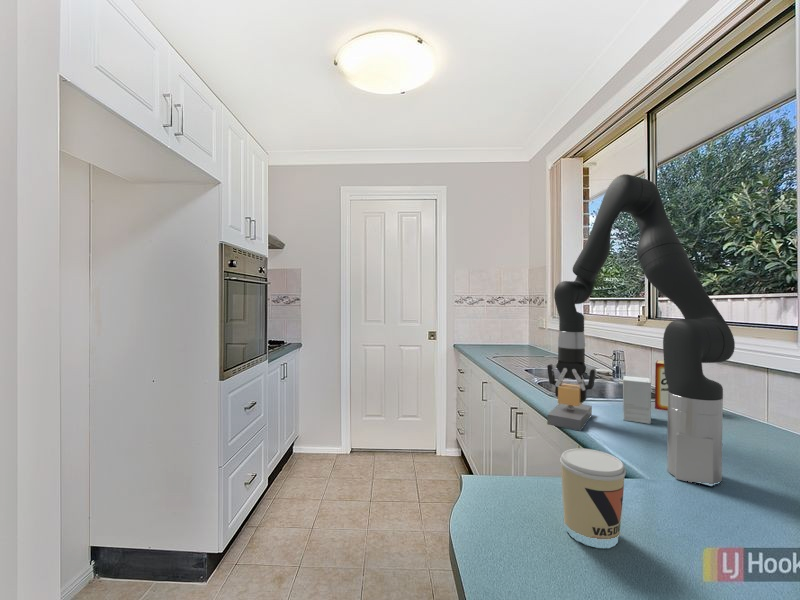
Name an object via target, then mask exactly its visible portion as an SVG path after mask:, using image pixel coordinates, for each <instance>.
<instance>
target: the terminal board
mask: <svg viewBox="0 0 800 600" xmlns="http://www.w3.org/2000/svg"><path fill="white" fill-rule="evenodd" d="M592 415H593V405H590V404H585V403H584V404H583V403H582V404H581V405H580V406H572V405H566V404H560V403H558V404H557V405H556V406H554V408H552V409H551V410H550V411H549V412H548V413H547V415H546V416H547V418H546V419H547V422H546V424H547V425H548V426H553V427H558V428H559V427H560V428H563V429H564V428H565V429H569V430H574V431H579V432H580V430H581V431H582V429H583V428H584V426H585V425H586V424H587V423H588V421H589V419H590V418H591V417H592ZM590 416H591V417H590ZM587 420H588V421H587ZM585 423H586V424H585ZM584 424H585V425H584ZM582 427H583V428H582ZM581 428H582V429H581Z"/></svg>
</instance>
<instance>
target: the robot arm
mask: <svg viewBox="0 0 800 600" xmlns="http://www.w3.org/2000/svg"><path fill="white" fill-rule="evenodd" d="M621 212H622V213H627V214H629V215H631V216H632V217H633V219H634V220H635V223H636V224H637V227H638V229H639V231H640V232H639V233H640V236H639V240H638V244H637V249H636V256H637V259H638V262H639V265H640V267H641V269H642V271H643V274H644V277H646V279H647V281H648V282H649V283H650V284H651V285H652V286H653V287H654V288H655V289H656V290H658V291H659V292H660V293H661V294H662V295H663V296H665V297H666V298H667V299H668V300H670V301H671V302H672V303H673V304H674V305H675V306H676V307H677V308H678V310H679V311H680V312H681V314H682V317H683V318H684V319H675V320H672V321H671V322H669V323H668V325H667V326H666V328H665V329H664V333H663V337H662V351H663V353H662V355H663V361H664V373H665V378H666V381H667V383H668V411H667V431H666V432H667V438H666V439H667V442H666V443H667V445H666V446H667V448H666V450H667V452H666V453H667V457H666V460H667V462H666V463H667V464H666V465H667V467H666V468H667V470H666V471H667V472H668V473H669V474H671V475H672V476H674V478H675V479H676V480H679V481H684V482H687V481H688V483H692V482H701V483H709V484H714V483H718V482H721V481H722V482H723V415H724V414H723V409H724V408H723V407H724V404H723V403H724V401H723V400H724V388H723V385H722V384H721V383H720V382H718V381H715V380H713V379H710V378H709V377H706V376H705V375H704V370H703V364H711V363H712V364H714V363H722V362H726V361H728V360H729V359H731V358H732V357H733V354H734V353H735V347H736V345H735V344H736V343H735V338H734V335H733V332H732V330H731V328H730V326H729V325H728V324H727V321H726V320H725V319H724V317H723V316H722V314H721V313H720V311H719V309H718V308H717V307H716V305H715V303H714V302H713V301H712V299H711V298H710V296H709V295H708V293H707V291H706V289H705V288H704V286H703V284H702V281H700V278H699V276H698V275H697V273H696V271H695V269H694V268H693V265H692V263H691V261H690V258H689V257H688V254H687V252H686V250H685V248H684V246H683V245H682V242H681V241H680V239H679V238H678V236H677V233H676V232H675V229H674V227H673V225H672V223H671V221H670V220H669V217H668V215H667V212H666V209H665V207H664V203H663V200H662V197H661V194H660V192H659V189H658V187H657V185H656V184H655V183H654V182H653V181H651V180H650V179H646V178H643V177H639V176H636V175H631V174H621V175H619V176H618V175H617V177H615V178H614V179H613V180H612V181H611V182H610V183H609V185H608V187H607V189H606V190H605V193H604V196H603V198H602V201H601V203H600V205H599V209H598V211H597V214H596V216H595V220H594V222H593V225H592V227H591V230H590V233H589V236H588V238H587V240H586V242H585V244H584V246H583V248H582V250H581V252H580V253H579V255H578V256H577V258H576V260H575V262H574V264H573V265H572V272H573V274H574V275H575V276H576V277H575V279H574V281H573V280H572V281H570V280H569V281H568V280H563V281H560V282H559V283H557V285H556V287H555V289H554V295H553V296H554V303H555V306H556V311H557V313H558V316H559V317H558V318H559V321H558V322H559V325H558V327H559V328H558V331H559V332H558V336H557V338H558V339H557V363H556V364H552V363H550V364H548V365H547V366H546V368H547V375H548V376H547V377H548V383H549V384H551V385H553V386H554V387H555V391H554V393H555V397H557V399H558V387H559V386H560V385H561V384H563V381H565V379H566V380H569V379H571V380H574V381H575V380H576V382H577V385H579V386H580V387H581V396H580V402H582V404H583V403H584V402H585V401H586V400H587V391H588V390H592V389H593V388H594V386H595V379H596V375H597V369H596V368H589V367H587V366H586V363H585V358H586V357H585V356H586V355H585V354H586V353H585V352H586V350H585V349H586V338H585V317H584V314H583V313H581V312H579V311H577V307H576V305H580V304H583V303H585V302H586V301H587V300H588V299H589V298H590V296H592V292H593V289H594V285H595V283H596V279H597V276H598V274H599V273H600V271H601V269H602V268H603V266H604V264H605V263H606V261H607V259H608V257H609V255H610V250H611V236H612V229H613V226H614V224H615V221H616V220H617V218H618V216H619V215H620V214H621ZM556 369H557V371H558V372H559V373H560V374H559V376H558V377H557V380H556V378H555V372H556ZM585 372H586V374H587V376H589V377H588V384H586V382H585V378H584V377H583V374H584V373H585ZM722 482H721V483H722Z"/></svg>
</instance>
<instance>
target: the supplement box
mask: <svg viewBox="0 0 800 600" xmlns="http://www.w3.org/2000/svg"><path fill="white" fill-rule="evenodd" d="M622 409H623V410H622V419H623V421H626V422H628V421H629V422H634V423H635V422H636V423H642V424H649V425H651V424H652V382H651V378H650V377H640V376H629V375H623V378H622Z"/></svg>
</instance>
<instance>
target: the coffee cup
mask: <svg viewBox="0 0 800 600" xmlns="http://www.w3.org/2000/svg"><path fill="white" fill-rule="evenodd" d="M559 460H560V467H561V468H560V470H561V487H562V488H561V489H562V491H561V492H562V503H563V520H564V521H563V522H564V525H565V524H566V525H567V526H568V527H569V528H570V529H571V530H573V531H575V532H576V533H579V534H581V535H584V536H586V537H590V538H597V539H611V538H615V537H617V536H618V535H619V534H620V533H621V523H622V513H623V499H624V489H625V477H626V475H627V474H626V473H627V472H626V471H627V470H626V466H625V465H624V463H623V462H622V461H621V459H619V458H617V457H616V456H614V455H612V454H610V453H607V452H605V451H601V450H597V449H592V448H577V447H575V448H571V449H566V450H565V451H563V452H562V454H561V456H560V458H559ZM620 535H621V534H620ZM620 535H619V536H620Z"/></svg>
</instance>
